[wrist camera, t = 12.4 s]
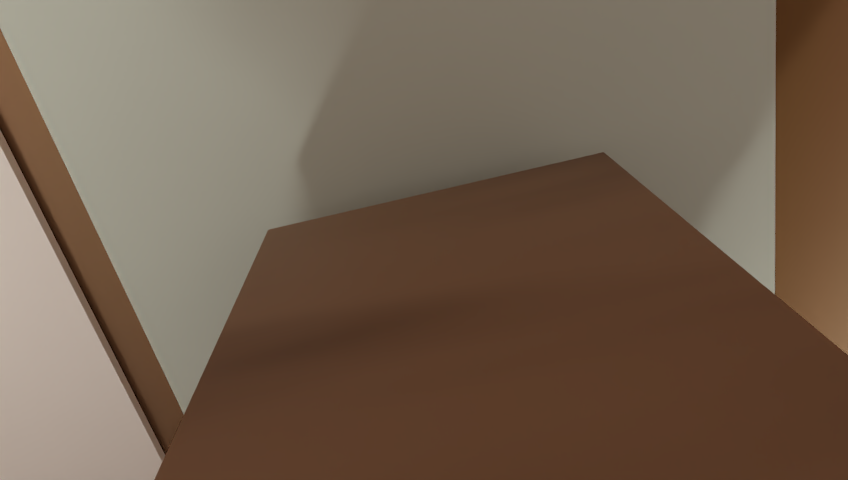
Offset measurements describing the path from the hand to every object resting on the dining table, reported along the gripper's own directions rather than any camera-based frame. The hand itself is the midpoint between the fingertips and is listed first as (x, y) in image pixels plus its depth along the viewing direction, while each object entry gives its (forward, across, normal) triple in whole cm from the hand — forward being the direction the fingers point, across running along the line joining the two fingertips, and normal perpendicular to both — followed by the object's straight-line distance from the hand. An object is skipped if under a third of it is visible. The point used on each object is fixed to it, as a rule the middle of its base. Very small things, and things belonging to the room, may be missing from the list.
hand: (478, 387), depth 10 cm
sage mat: (+3, 0, 0) cm, 3 cm away
